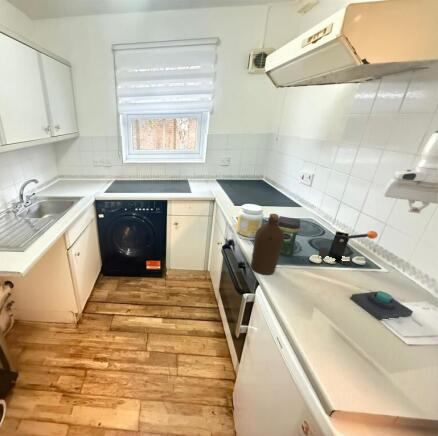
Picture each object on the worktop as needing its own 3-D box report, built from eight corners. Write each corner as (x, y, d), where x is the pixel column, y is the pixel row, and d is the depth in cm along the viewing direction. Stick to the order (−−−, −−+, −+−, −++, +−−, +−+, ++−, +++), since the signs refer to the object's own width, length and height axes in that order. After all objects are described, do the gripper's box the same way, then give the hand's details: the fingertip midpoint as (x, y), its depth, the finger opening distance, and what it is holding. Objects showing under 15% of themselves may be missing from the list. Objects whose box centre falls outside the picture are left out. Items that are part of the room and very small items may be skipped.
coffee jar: (292, 252, 114) (302, 217, 107) (292, 260, 108) (302, 223, 101) (270, 247, 119) (278, 213, 112) (268, 254, 113) (277, 218, 105)
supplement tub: (242, 229, 139) (247, 201, 132) (263, 236, 130) (269, 207, 124) (231, 235, 131) (235, 206, 125) (252, 243, 123) (258, 213, 116)
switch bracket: (349, 258, 109) (359, 234, 104) (351, 268, 102) (361, 242, 97) (318, 251, 116) (326, 227, 111) (317, 259, 109) (326, 234, 104)
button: (381, 294, 82) (383, 290, 81) (393, 302, 78) (395, 298, 78) (372, 296, 81) (374, 291, 80) (384, 303, 78) (386, 299, 77)
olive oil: (281, 275, 98) (296, 219, 88) (257, 276, 97) (269, 220, 87) (267, 261, 107) (278, 209, 98) (244, 262, 106) (254, 210, 97)
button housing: (378, 295, 86) (382, 286, 85) (410, 316, 77) (415, 307, 76) (350, 299, 85) (353, 290, 83) (379, 320, 76) (383, 311, 74)
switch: (377, 236, 99) (375, 229, 98) (378, 239, 96) (377, 232, 96) (338, 240, 107) (336, 233, 107) (338, 243, 105) (336, 236, 104)
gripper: (472, 178, 81) (451, 215, 86) (390, 171, 92) (376, 204, 97) (480, 181, 76) (458, 221, 81) (393, 173, 87) (379, 209, 92)
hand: (413, 212), depth 89 cm, fingers closed
